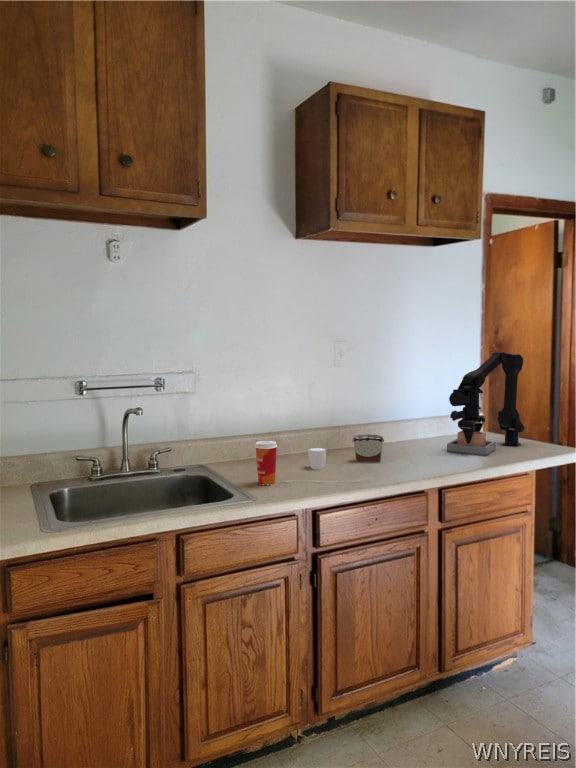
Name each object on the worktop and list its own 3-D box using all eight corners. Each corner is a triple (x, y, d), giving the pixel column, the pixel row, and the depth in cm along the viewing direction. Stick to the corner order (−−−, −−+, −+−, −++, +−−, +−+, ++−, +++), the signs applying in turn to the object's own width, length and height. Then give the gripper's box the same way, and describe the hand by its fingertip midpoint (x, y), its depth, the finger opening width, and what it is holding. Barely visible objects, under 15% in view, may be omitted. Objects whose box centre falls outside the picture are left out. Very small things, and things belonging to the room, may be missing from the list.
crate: (457, 446, 251) (457, 438, 250) (495, 450, 242) (495, 441, 241) (446, 452, 239) (447, 443, 239) (486, 456, 230) (486, 447, 230)
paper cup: (255, 480, 197) (254, 440, 196) (277, 480, 198) (276, 440, 197) (255, 487, 189) (254, 445, 188) (278, 486, 190) (278, 444, 189)
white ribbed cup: (328, 466, 217) (328, 448, 216) (323, 470, 211) (323, 451, 210) (311, 465, 219) (311, 447, 219) (306, 469, 213) (305, 450, 212)
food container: (383, 459, 228) (383, 434, 227) (384, 462, 222) (384, 437, 221) (352, 458, 229) (351, 434, 228) (352, 462, 223) (352, 436, 222)
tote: (461, 446, 246) (462, 430, 245) (485, 449, 240) (485, 432, 239) (457, 449, 241) (457, 432, 240) (481, 451, 235) (481, 434, 234)
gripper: (459, 400, 251) (459, 436, 252) (445, 405, 235) (445, 443, 237) (485, 402, 245) (485, 438, 246) (472, 407, 229) (472, 446, 231)
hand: (471, 441), depth 240 cm, fingers open, 9 cm apart
